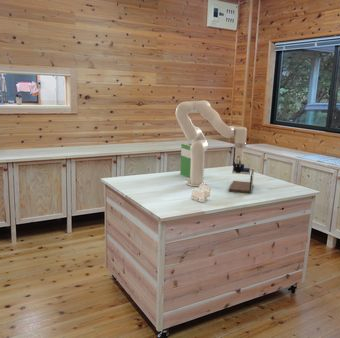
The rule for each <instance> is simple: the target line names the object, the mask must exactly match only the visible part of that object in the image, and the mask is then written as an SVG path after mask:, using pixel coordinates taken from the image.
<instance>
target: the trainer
mask: <svg viewBox="0 0 340 338" xmlns="http://www.w3.org/2000/svg"><path fill="white" fill-rule="evenodd" d="M232 165H233V166H232V171H231V173H232V174H235V175H236V174H237V175H249V176H251V168H250V167H245V163H241V165H240V167H241V171H240V173H236V162H234V163H233V164H232Z"/></svg>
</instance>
